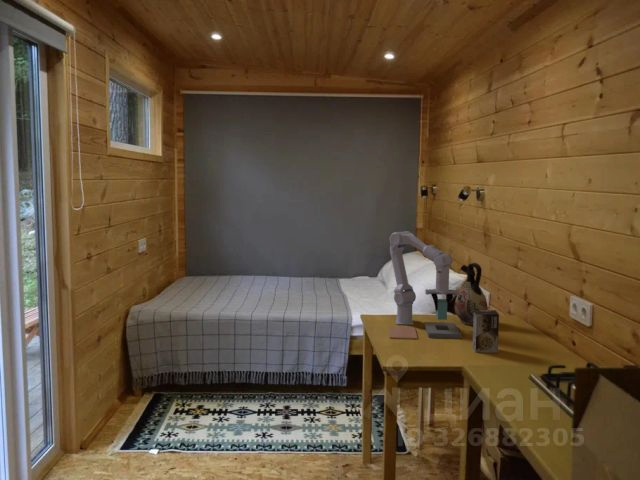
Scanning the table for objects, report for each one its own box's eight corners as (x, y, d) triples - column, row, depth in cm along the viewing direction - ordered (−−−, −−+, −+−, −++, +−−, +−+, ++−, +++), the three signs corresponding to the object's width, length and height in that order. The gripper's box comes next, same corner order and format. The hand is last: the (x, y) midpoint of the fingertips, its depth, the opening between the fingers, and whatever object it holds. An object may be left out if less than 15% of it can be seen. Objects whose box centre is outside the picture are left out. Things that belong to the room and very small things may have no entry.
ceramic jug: (447, 320, 260) (449, 260, 256) (472, 317, 267) (474, 258, 263) (470, 330, 245) (473, 265, 241) (496, 326, 251) (499, 263, 248)
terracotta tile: (388, 328, 248) (388, 326, 247) (414, 328, 246) (414, 327, 246) (389, 338, 232) (389, 337, 232) (417, 339, 231) (417, 337, 231)
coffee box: (494, 348, 219) (496, 309, 217) (498, 353, 213) (499, 314, 211) (471, 347, 220) (473, 309, 218) (474, 352, 214) (476, 313, 212)
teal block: (435, 315, 244) (436, 298, 243) (444, 316, 243) (445, 299, 242) (437, 319, 238) (438, 302, 237) (446, 319, 237) (447, 302, 236)
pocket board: (424, 326, 251) (424, 321, 251) (454, 326, 250) (454, 322, 249) (428, 337, 233) (428, 333, 233) (461, 338, 232) (461, 334, 232)
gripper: (427, 282, 235) (426, 312, 237) (460, 282, 234) (459, 312, 235) (425, 279, 242) (424, 308, 244) (457, 279, 241) (456, 308, 242)
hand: (441, 310), depth 240 cm, fingers closed on teal block, 4 cm apart
